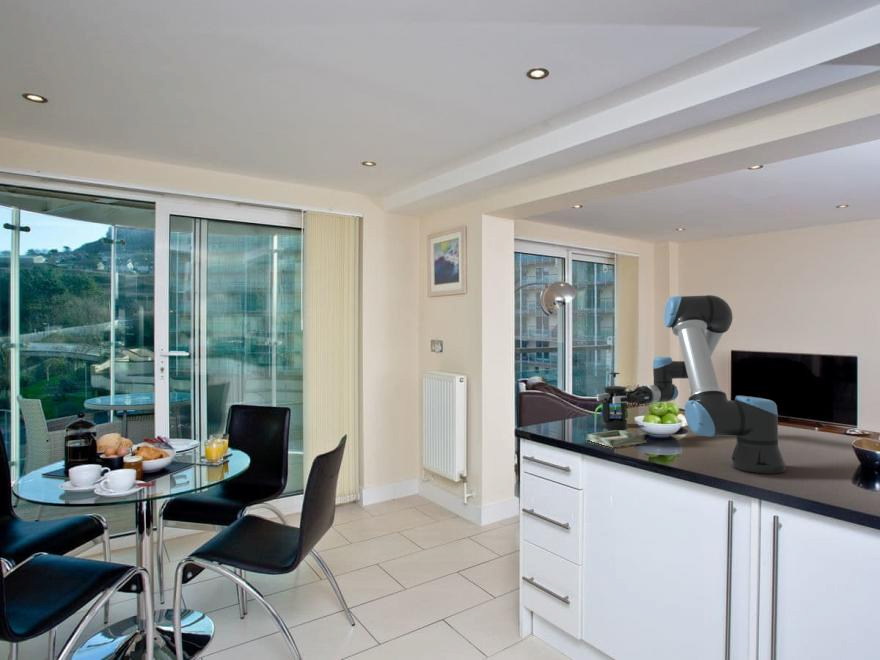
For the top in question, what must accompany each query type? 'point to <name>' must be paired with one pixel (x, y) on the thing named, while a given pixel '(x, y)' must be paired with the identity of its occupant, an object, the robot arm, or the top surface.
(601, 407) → the snack cup
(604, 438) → the tray
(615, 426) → the french press
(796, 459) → the top surface
